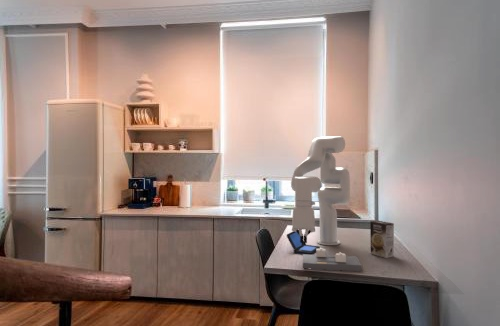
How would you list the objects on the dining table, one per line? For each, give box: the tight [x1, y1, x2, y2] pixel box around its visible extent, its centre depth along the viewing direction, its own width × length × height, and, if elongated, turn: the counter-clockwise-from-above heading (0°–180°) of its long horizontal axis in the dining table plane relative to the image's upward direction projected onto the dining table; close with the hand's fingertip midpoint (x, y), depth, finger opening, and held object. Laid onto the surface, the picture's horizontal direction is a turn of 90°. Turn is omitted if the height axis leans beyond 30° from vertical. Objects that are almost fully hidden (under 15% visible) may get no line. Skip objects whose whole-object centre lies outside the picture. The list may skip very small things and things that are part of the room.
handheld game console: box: [286, 231, 321, 255], centre depth 173 cm, size 16×13×9 cm
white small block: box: [335, 251, 347, 262], centre depth 143 cm, size 3×4×4 cm
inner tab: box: [315, 246, 327, 257], centre depth 151 cm, size 3×4×4 cm
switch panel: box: [302, 254, 362, 272], centre depth 147 cm, size 14×24×3 cm, turn 81°
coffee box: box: [369, 220, 395, 259], centre depth 163 cm, size 9×6×16 cm
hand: (303, 244), depth 152 cm, fingers closed
